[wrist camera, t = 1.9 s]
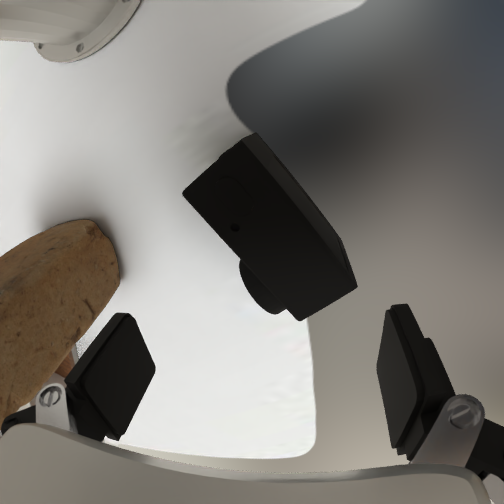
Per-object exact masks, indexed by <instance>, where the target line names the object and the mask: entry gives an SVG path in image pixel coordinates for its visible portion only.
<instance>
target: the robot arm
mask: <svg viewBox="0 0 504 504" xmlns="http://www.w3.org/2000/svg"><path fill="white" fill-rule="evenodd" d="M139 3H140V0H0V40H2V41H21V42H33V43H34V47H35V48H36V50H37V52H38V53H39V54H40V55H41V56H42V57H43V58H44V59H46V60H49V61H52V62H60V63H64V62H73V61H77V60H80V59H82V58H85V57H87V56H89V55H91V54H92V53H94V52H96V51H97V50H99V49H100V48H102V47H103V46H104V45H105V44H106V43H108V42H109V41H110V40H111V39H112V38H113V37H114V36H115V35H116V34H117V33H118V32H119V31H120V30H121V29H122V28H123V27H124V25H125V24H126V23H127V21H128V20H129V19H130V18H131V16H132V15H133V13H134V11H135V10H136V8H137V6H138V5H139ZM154 374H155V364H154V362H153V360H152V357H151V355H150V353H149V351H148V348H147V346H146V344H145V342H144V339H143V337H142V334H141V332H140V330H139V327H138V325H137V322H136V320H135V318H134V317H132V316H131V315H130V314H129V313H115V314H114V315H113V317H112V318H111V319H110V320H109V322H108V323H107V324H106V325H105V327H104V328H103V329H102V330H101V332H100V333H99V334H98V335H97V337H96V338H95V339H94V341H93V342H92V343H91V344H90V346H89V347H88V348H87V350H86V351H85V352H84V354H83V355H82V356H81V358H80V359H79V360H78V362H77V363H76V364H75V366H74V367H73V368H72V370H71V371H70V372H69V374H68V375H67V376H66V378H65V379H64V382H65V384H66V385H67V386H66V388H64V387H63V386H62V385H61V384H59V383H53V384H49V385H47V386H45V387H44V388H43V389H41V391H40V392H39V393H38V395H37V397H36V405H33V406H31V407H28V408H26V409H23V410H21V411H18V412H15V413H13V414H11V415H9V416H7V417H6V418H5V419H4V421H3V423H2V425H1V430H0V504H491V501H490V499H491V500H492V501H493V502H494V503H495V504H504V427H503V426H501V425H499V424H496V423H494V422H492V421H490V420H487V419H485V410H484V407H483V405H482V403H481V402H480V401H479V400H478V399H477V398H475V397H473V396H471V395H467V394H459V395H455V392H454V390H453V387H452V385H451V382H450V380H449V377H448V375H447V373H446V370H445V368H444V366H443V363H442V361H441V359H440V357H439V354H438V352H437V350H436V348H435V346H434V344H433V342H432V340H431V339H430V338H424V336H423V334H422V332H421V330H420V328H419V325H418V324H417V321H416V319H415V317H414V315H413V313H412V311H411V309H410V307H409V305H408V304H397V305H392V306H391V308H390V310H386V313H385V320H384V326H383V333H382V339H381V344H380V350H379V355H378V360H377V375H378V379H379V384H380V389H381V394H382V398H383V403H384V408H385V413H386V419H387V424H388V430H389V435H390V441H391V446H392V448H397V454H398V455H403V454H406V456H407V460H409V461H410V462H409V464H407V465H396V466H387V467H379V468H369V469H361V470H350V471H336V472H315V473H269V472H251V471H239V470H228V469H219V468H211V467H204V466H198V465H192V464H186V463H180V462H175V461H170V460H165V459H161V458H156V457H152V456H148V455H143V454H140V453H136V452H132V451H129V450H125V449H121V448H118V447H115V446H112V445H109V444H105V441H104V437H105V435H106V436H107V437H108V438H110V439H113V440H116V441H119V439H120V437H121V435H124V434H125V432H126V430H127V428H128V426H129V424H130V422H131V420H132V418H133V416H134V414H135V412H136V410H137V408H138V406H139V404H140V402H141V400H142V398H143V396H144V394H145V392H146V390H147V388H148V386H149V384H150V382H151V380H152V378H153V376H154Z"/></svg>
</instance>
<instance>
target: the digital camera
mask: <svg viewBox="0 0 504 504" xmlns="http://www.w3.org/2000/svg"><path fill="white" fill-rule="evenodd" d="M182 195H183V196H184V197H185V199H186V200H187V201H188V202H189V203H190V204H191V205H192V206H193V207H194V209H195V210H196V211H197V212H198V213H199V214H200V215H201V216H202V217H203V218H204V220H205V221H206V222H207V223H208V224H209V225H210V226H211V227H212V228H213V230H214V231H215V232H216V233H217V234H218V235H219V236H220V237H221V238H222V239H223V240H224V242H225V243H226V244H227V245H228V246H229V247H230V248H231V249H232V250H233V251H234V253H235V254H236V255H237V256H238V257H239V258H240V259H241V260H240V263H239V269H240V274H241V277H242V280H243V282H244V285H245V287H246V288H247V290H248V292H249V293H250V295H251V296H252V298H253V299H254V300H255V301H256V302H257V304H258V305H259V306H260V307H262V308H263V309H264V310H265V311H267V312H269V313H271V314H279V313H280V312H282V311H284V310H285V309H287V310H288V311H289V312H290V313H291V314H292V315H293V316H294V317H295V318H296V320H298V321H302V320H304V319H306V318H307V317H309V316H311V315H313V314H314V313H316V312H318V311H319V310H321V309H323V308H325V307H326V306H328V305H330V304H331V303H333V302H335V301H336V300H338V299H340V298H341V297H343V296H344V295H346V294H348V293H350V292H351V291H353V290H354V289H356V288H357V287H358V286H357V282H356V279H355V276H354V274H353V271H352V268H351V265H350V262H349V259H348V257H347V254H346V251H345V248H344V245H343V243H342V240H341V238H340V237H339V236H338V234H337V233H336V232H335V230H334V229H333V227H332V226H331V225H330V223H329V222H328V221H327V219H326V218H325V217H324V215H323V214H322V213H321V211H320V210H319V209H318V207H317V206H316V205H315V204H314V203H313V201H312V200H311V198H310V197H309V196H308V195H307V193H306V192H305V191H304V190H303V188H302V187H301V186H300V185H299V183H298V182H297V181H296V179H295V178H294V177H293V176H292V175H291V173H290V172H289V171H288V170H287V168H286V167H285V166H284V165H283V164H282V162H281V161H280V160H279V159H278V157H277V156H276V155H275V154H274V153H273V151H272V150H271V149H270V148H269V147H268V145H267V144H266V143H265V142H264V141H263V140H262V138H261V137H260V136H259V135H258V134H257V133H254V134H252V135H249V136H247V137H245V138H243V139H241V140H240V141H239V142H238V143H236V144H235V145H234V146H233V147H232V148H230V149H229V150H227V151H226V152H224V153H223V154H222V155H221V156H220V157H219V159H218V160H217V161H216V162H214V163H213V164H212V165H211V166H210V167H209V168H208V169H207V170H205V171H204V172H203V173H202V174H201V175H200V176H199V177H198V178H197V179H196V180H194V181H193V182H192V183H191V184H190V185H189V186H188V187H187V188H186V189H185V190H184V191H183V192H182Z"/></svg>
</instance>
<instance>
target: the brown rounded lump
mask: <svg viewBox="0 0 504 504" xmlns="http://www.w3.org/2000/svg"><path fill="white" fill-rule="evenodd" d="M119 284H120V276H119V270H118V262H117V258H116V254H115V251H114V248H113V245H112V243H111V241H110V240H109V238H108V237H106V236H104V235H103V233H102V232H101V231H100V229H99V228H98V226H97V225H96V224H95V223H94V222H93V221H90V220H76V221H69V222H67V223H64V224H60V225H57V226H55V227H52V228H50V229H48V230H46V231H44V232H42V233H39V234H37V235H35V236H33V237H31V238H29V239H27V240H26V241H24V242H22V243H20V244H19V245H17V246H16V247H14V248H13V249H11V250H10V251H8V252H7V253H5V254H4V255H3V256H1V257H0V430H1V425H2V423H3V421H4V419H5V418H6V417H7V416H9V415H11V414H13V413H15V412H17V411H18V410H19V408H20V407H22V406H24V405H26V404H28V403H29V402H30V401H32V399H33V398H34V397H35V395H36V394H37V392H38V391H40V390H41V388H42V386H43V384H44V383H45V382H47V381H48V380H49V378H50V377H51V376H52V374H53V373H54V372H55V371H56V370H57V368H58V367H59V365H60V364H61V363H62V361H63V360H64V359H65V358H66V356H67V355H68V354H69V352H70V351H71V349H72V348H73V347H74V345H75V343H76V342H77V341H78V340H79V339H80V338H81V337H82V336H83V335H84V334H85V333H86V331H87V330H88V329H89V328H90V326H91V325H92V324H93V322H94V321H95V319H96V318H97V317H98V315H99V314H100V313H101V312H102V310H103V309H104V308H105V307H106V305H107V304H108V302H109V301H110V299H111V297H112V296H113V294H114V293H115V291H116V290H117V288H118V286H119Z"/></svg>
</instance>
